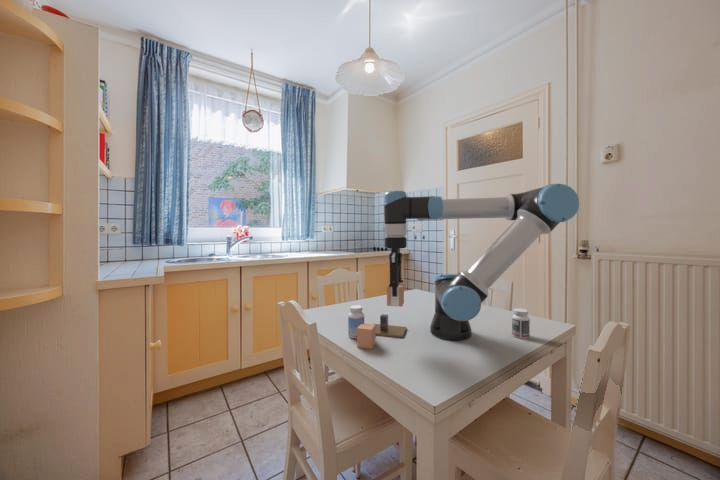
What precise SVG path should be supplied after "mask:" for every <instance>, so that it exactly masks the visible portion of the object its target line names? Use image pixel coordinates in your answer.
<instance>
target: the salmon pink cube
mask: <svg viewBox="0 0 720 480" xmlns="http://www.w3.org/2000/svg"><path fill="white" fill-rule="evenodd" d="M388 285H390V283H388ZM388 285H387V286H386V306H387V307H388V306H389V307H392V306H391V287H389V286H388ZM404 303H405V284H404V283H401V284H399V306H398V307H403V306H404Z"/></svg>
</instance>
